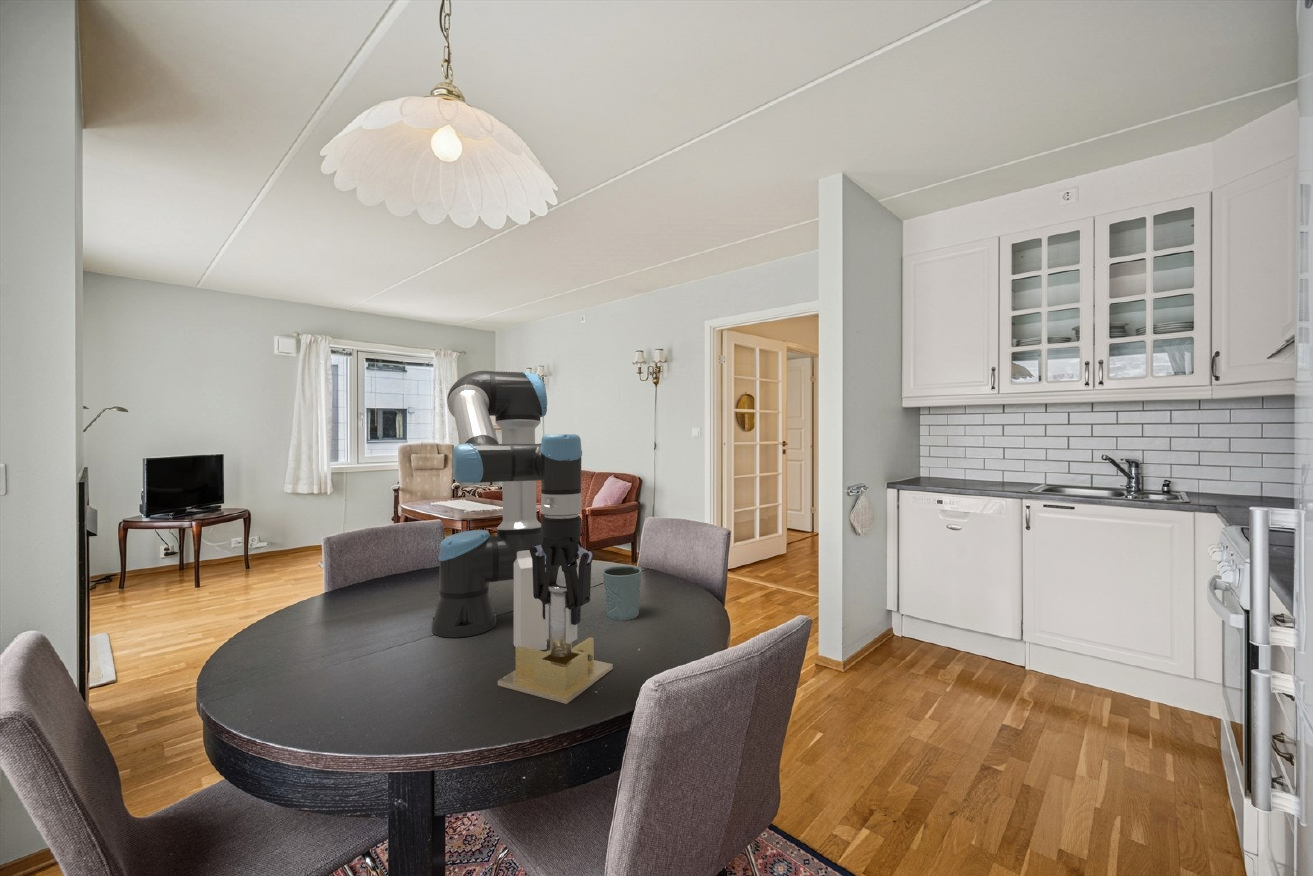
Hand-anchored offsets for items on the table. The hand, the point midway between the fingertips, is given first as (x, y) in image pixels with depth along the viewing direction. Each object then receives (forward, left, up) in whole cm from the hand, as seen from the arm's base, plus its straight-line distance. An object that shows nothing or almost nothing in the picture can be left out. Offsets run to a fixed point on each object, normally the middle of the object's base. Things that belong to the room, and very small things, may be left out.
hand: (561, 638), depth 102 cm
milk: (-18, +13, -10) cm, 24 cm away
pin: (0, 0, -3) cm, 3 cm away
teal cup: (-10, +41, -10) cm, 43 cm away
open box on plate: (-4, +4, -9) cm, 11 cm away
